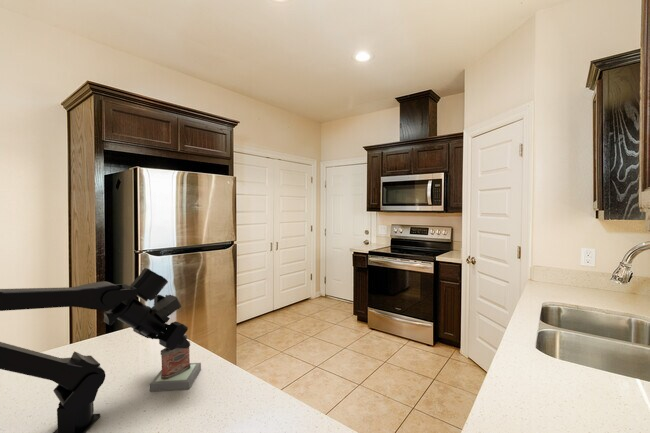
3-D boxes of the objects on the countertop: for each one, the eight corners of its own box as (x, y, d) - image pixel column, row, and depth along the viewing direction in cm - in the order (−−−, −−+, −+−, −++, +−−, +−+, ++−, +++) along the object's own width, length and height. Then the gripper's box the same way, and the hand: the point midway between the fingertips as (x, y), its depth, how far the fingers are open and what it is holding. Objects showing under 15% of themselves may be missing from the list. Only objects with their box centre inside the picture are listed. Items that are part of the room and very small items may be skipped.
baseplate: (189, 389, 81) (188, 381, 81) (149, 391, 80) (149, 383, 80) (200, 369, 91) (200, 362, 91) (166, 371, 90) (165, 364, 90)
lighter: (165, 381, 81) (164, 344, 81) (158, 377, 83) (157, 341, 83) (192, 367, 88) (192, 334, 87) (186, 364, 90) (185, 331, 89)
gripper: (179, 294, 76) (218, 323, 86) (143, 283, 87) (181, 310, 97) (147, 336, 70) (192, 363, 80) (113, 319, 81) (156, 344, 90)
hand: (180, 342), depth 87 cm, fingers open, 8 cm apart
